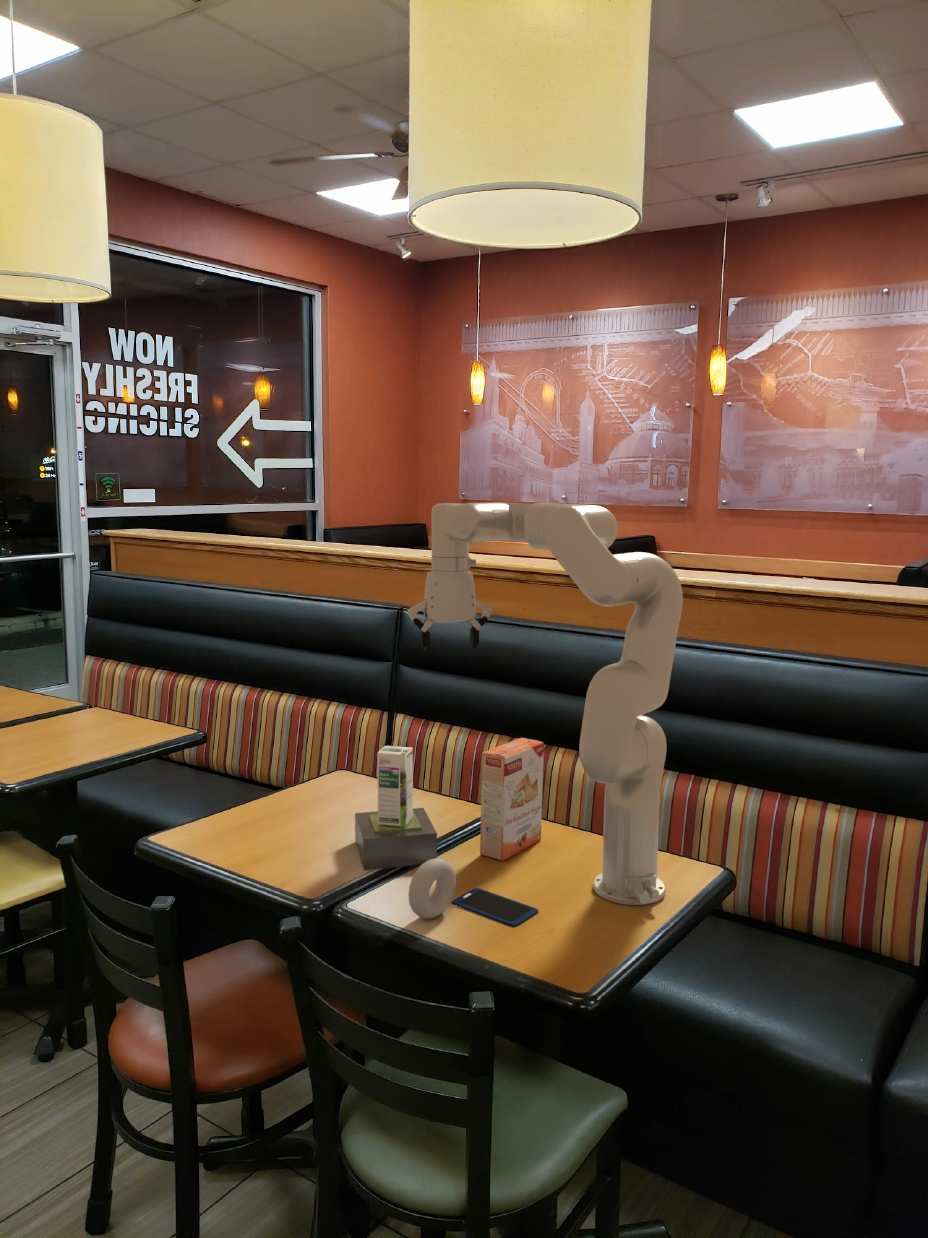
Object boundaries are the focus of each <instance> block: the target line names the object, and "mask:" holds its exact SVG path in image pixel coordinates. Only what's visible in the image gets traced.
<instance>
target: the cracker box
mask: <svg viewBox="0 0 928 1238" xmlns="http://www.w3.org/2000/svg"><path fill="white" fill-rule="evenodd" d="M544 749H545V743H544V742H543V741H540V740H537V739H532V738H531V739H530V738H526V737H520V738H517V739H514V740H511V741H509V742H506V743H504V744H501V745H498V746H496V747H493V748H491V749H488V750H485V751H483V752H481V794H480V795H481V796H480V844H479V849H480V850H479V851H480V852H479V854H480V855H481V856H485V857H488V858H491V859H494V860H497V861H500V862H504V861H505V860H508V859H509V858H511V857H512V856H515V855H516V854H518V853H520V852H522V851H523V850H525V849H527V848H529V847H531V846H532V845H535V844H536V843H539V842H540V841H541V840H542V818H543V817H542V815H543V791H544V790H543V787H544V786H543V782H544V759H545V757H544V756H545V754H544V753H545V750H544Z"/></svg>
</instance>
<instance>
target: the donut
mask: <svg viewBox="0 0 928 1238" xmlns="http://www.w3.org/2000/svg"><path fill="white" fill-rule="evenodd" d="M456 879H457V878H456V872H455V870H454V867H453V866H452V864H451V863H449V862H448V860H446V859H442V858H438V857H437V858H435V859H431V860H428V861H426V862H425V863H423V864H422V865H419V867H418V869H417V870H416V871H415V872H414V874H413V876H412V878H411V881H410V884H409V888H408V889H409V890H408V904H409V906H410V908H411V910H412V912H413V913H414V914H415V915H416V916H418V917H419V918H422V919H427V920H429V919H433V918H434V919H435V918H436V917H438V916H439V915H441V914H443V912H445V911H446V909H447V908H448V907H449V906H450V904H451V903H452V901H453V897H454V895H455V891H456V885H457V884H456V883H457V880H456ZM434 882H435V887H434V890H433V891H432V893H431V895H430V891H431V887H432V885H433V883H434Z"/></svg>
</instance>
